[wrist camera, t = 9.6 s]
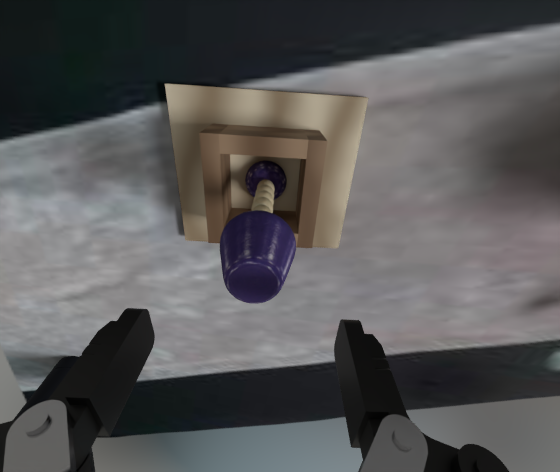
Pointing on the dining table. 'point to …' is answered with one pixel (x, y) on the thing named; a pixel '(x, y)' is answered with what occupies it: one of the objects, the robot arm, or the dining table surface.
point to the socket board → (264, 156)
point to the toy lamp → (258, 240)
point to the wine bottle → (49, 383)
